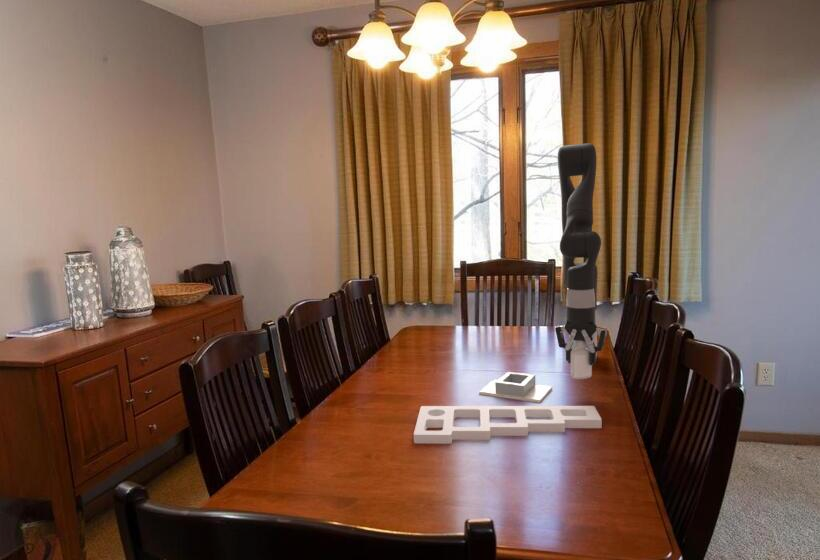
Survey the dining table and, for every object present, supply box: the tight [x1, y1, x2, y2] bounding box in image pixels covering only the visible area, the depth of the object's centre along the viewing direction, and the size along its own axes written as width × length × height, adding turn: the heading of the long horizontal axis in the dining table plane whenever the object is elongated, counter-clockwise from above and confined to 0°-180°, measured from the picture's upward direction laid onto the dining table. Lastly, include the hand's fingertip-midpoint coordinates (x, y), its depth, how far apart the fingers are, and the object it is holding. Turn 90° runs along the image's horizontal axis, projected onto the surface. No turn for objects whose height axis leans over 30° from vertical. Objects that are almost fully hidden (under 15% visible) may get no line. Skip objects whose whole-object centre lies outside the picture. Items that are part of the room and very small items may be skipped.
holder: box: [413, 405, 603, 445], centre depth 135 cm, size 45×18×3 cm, turn 83°
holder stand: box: [478, 371, 553, 404], centre depth 160 cm, size 12×18×4 cm, turn 60°
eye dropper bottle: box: [570, 340, 593, 380], centre depth 153 cm, size 4×6×12 cm
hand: (580, 363), depth 153 cm, fingers closed on eye dropper bottle, 5 cm apart
